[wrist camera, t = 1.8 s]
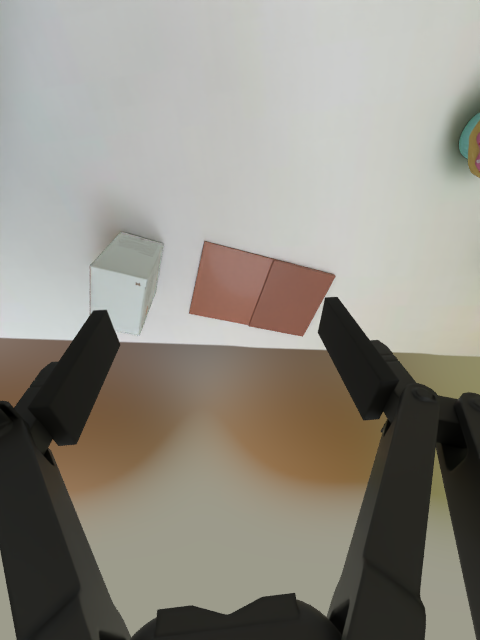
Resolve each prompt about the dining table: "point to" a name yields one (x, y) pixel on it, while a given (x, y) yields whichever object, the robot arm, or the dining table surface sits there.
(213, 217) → the dining table surface
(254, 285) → the napkin
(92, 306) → the small box
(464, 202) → the dining table surface
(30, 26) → the dining table surface
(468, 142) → the cupcake
